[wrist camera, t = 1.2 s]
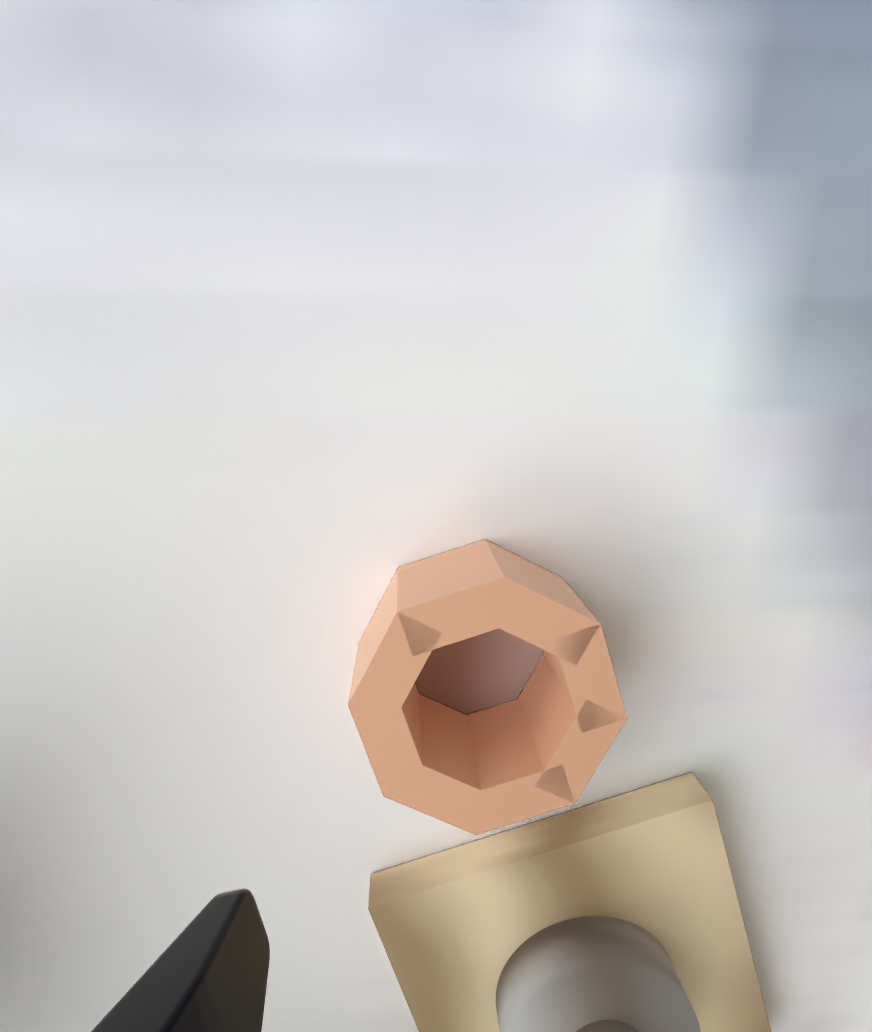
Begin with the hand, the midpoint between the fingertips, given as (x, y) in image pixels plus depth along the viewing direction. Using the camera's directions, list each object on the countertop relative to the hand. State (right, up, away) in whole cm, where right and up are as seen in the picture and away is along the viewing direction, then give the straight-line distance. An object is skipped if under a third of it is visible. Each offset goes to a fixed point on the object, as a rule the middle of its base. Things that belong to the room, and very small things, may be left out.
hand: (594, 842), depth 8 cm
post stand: (+3, -12, +15) cm, 20 cm away
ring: (-1, 0, +13) cm, 13 cm away
